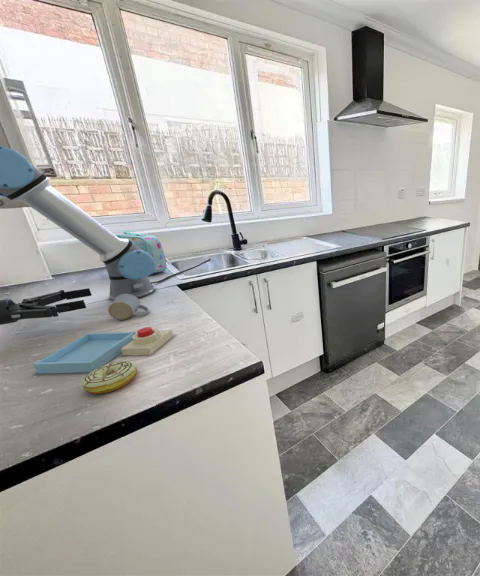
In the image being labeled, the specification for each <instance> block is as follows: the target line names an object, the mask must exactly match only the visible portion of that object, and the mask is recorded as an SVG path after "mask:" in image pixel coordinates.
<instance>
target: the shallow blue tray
mask: <svg viewBox="0 0 480 576" xmlns="http://www.w3.org/2000/svg"><path fill="white" fill-rule="evenodd" d="M136 333H137V332H136V331H120V332H119V331H118V332H115V331H114V332H87V333H85V334H84V335H82V336H80V337H78V338H77V339H75V340H73V341H71V342H69V343H68V344H66V345H64V346H63V347H60V348H59V349H58V350H55V351H54V352H52V353H50V354H49V355H47V356H46V357H44V358H42V359H40V360H38V361H36V362H35V363H33V367H34V368H35V371H36V373H37V374H39V375H41V374H76V373H90V372H92V371H94V370H96V369H97V368H99V367H101V366H103V365H105V364H108V363H110V362H111V360H113V359H114V358H116V357H117V356H118V355H120V354H122V352H121V348H123V347H124V346H126V345H127V344H128V343H130V342H131V341H133V339H132V337H133V335H134V334H136Z"/></svg>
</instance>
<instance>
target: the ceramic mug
mask: <svg viewBox="0 0 480 576" xmlns="http://www.w3.org/2000/svg"><path fill="white" fill-rule="evenodd" d="M139 309H141V310H144V311H138V310H139ZM149 310H150V309H149V307H147V306H146V305H144V304H141V301H140V299H139V298H137V297H135V296H134V295H131V294H121V295H119V296H117V297H116V299H115V300H112V302H111V303H110V304H109V306H108V309H107V311H108V315H109V316H110V317H111V318H113V319H114V320H120V321H125V320H127V319H129V318H131V317H132V316H139V317H140V316H147V314H148V313H149Z"/></svg>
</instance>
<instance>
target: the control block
mask: <svg viewBox="0 0 480 576" xmlns="http://www.w3.org/2000/svg"><path fill="white" fill-rule="evenodd" d="M152 330H153V334H152V335H149V336H146V337H139V336H138V333H137V332H136V334H134V335H133V337H132V339H133V341H131V342H130V343H128V344H127V345H126V346H124V347H123V348H121V354H122V356H148V355H149V356H150V355H152V354H154V353H155V352H156V351H157V350H158V349H160V348H161V347H162V346H163V345H164V344H165V343H167V342H168V341H169V340H170V339H172V338H173V337H174V333H173V330H172V329H157V328H152Z"/></svg>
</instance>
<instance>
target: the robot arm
mask: <svg viewBox="0 0 480 576" xmlns="http://www.w3.org/2000/svg"><path fill="white" fill-rule="evenodd" d="M6 198H7V199H8V200H10V201H12V202H22V203H24V204H26V205H27V206H28V207H30V208H32V209H33V211H36V212H37V213H38V214H40V216H43V217H44V218H45V219H47V220H49V221H50V222H52V223H53V224H54V225H56V226H57V227H59V228H60V229H62V230H63V231H65V232H66V233H68V234H69V235H70V236H72V237H73V238H75V239H76V240H78V241H79V242H81V243H82V244H83V245H85V246H86V247H88V248H89V249H91V250H92V251H93V252H95V253H96V254H98V255H99V261H101V262H102V263H103V264H104V266H105V269H106V272H107V275H108V278H109V281H110V283H109V298H110V300H112V301H114V300H115V299H116V297H117V296H119V295H121V294H131V295H134V296H135V297H137V298H138V299H139V298H143V297H146V296H148V295H151V294H153V293H154V292H155V288H154V285H153V284H159V283H161V282H164V281H166V280H167V279H170V278H172V277H174V276H178V275H180V274H183V273H185V272H188V271H190V270H193V269H195V268H198V267H199V266H202V265H204V264H206V263H207V262H209V261H211V260H212V258H208V259H207V260H204V261H203V262H201V263H199V264H196V265H195V266H192V267H189V268H187V269H184V270H182V271H179V272H176V273H173V274H170V275H168V276H167V277H165V278H162V279H160V280H155V281H152V282H151V281H150V280H149V279H148V277H149V276H151V275H152V274H151V273H152V272H153V270H154V267H155V262H154V259H153V258H152V256H151V255H150V254H149V253H147V252H145V251H143V250H141V249H140V248H138V247H137V246H136V245H135V242H134V241H129V240H128V239H120V238H118V237H117V236H116V235H117V234H115V233H114V232H112V231H111V230H110V229H108V228H107V227H105V226H104V225H103V224H102V223H100V222H99V221H97V219H95V218H94V217H92V216H91V215H90V214H88V213H87V212H86V211H85V210H83V209H82V208H80V207H79V206H78V205H77V204H76V203H74V202H73V201H72V200H70V199H68V198H67V197H66V196H65V195H63V194H62V193H61V192H59V191H58V190H57V189H56V188H54V187H53V186H52V185H51V184H50V179H49V176H47V175H46V174H44V173H43V172H42V171H41V170H39V169H38V168H37V167H36V166H34V165H33V164H32V163H31V161H30V160H28V158H27V157H26V156H25V155H23V153H20V152H19V151H17V150H15V149H13V148H10V147H7V146H5V145H0V199H1V200H2V199H6ZM91 296H92V292H91V289H90V288H89V287H88V288H82V289H81V288H80V289H75V290H70V291H69V290H68V291H65V289H60V290H59V291H55V292H51V293H47V294H42V295H38V296H35V297H29V298H23V299H22V301H21V302H19V303H15V302H14V301H13V300H12V299H11V298H6V299H0V325H1V326H3V325H8V324H13V323H17V322H18V321H20V320H29V319H44V318H52V317H53V318H57V317H59V314H62V313H68V312H72V311H78V310H83V309H87V306H86V303H85V300H84V299H80V298H86V297H87V298H88V297H91ZM75 299H79V300H75ZM65 300H67V301H69V300H73V301H69V302H64V303H63V302H62V301H65ZM74 300H75V301H74ZM58 302H62V303H58ZM55 303H58V304H55ZM52 304H55V305H52Z"/></svg>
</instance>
